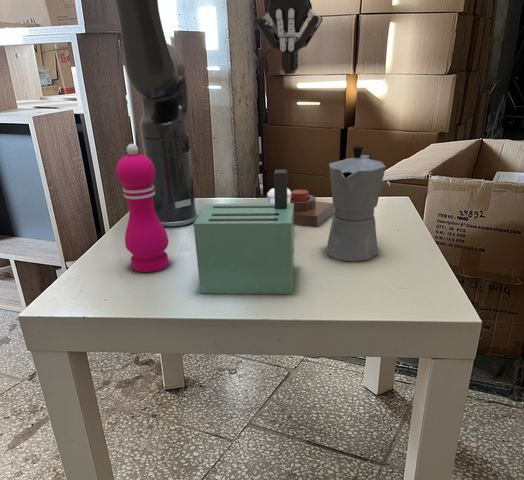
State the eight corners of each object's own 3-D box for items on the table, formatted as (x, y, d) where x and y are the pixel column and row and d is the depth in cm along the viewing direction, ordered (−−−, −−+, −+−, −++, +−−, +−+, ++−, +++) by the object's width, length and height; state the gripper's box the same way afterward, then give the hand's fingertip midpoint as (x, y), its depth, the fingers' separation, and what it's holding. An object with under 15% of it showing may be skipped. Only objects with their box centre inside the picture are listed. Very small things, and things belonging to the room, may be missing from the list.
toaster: (200, 293, 80) (193, 223, 74) (211, 268, 88) (205, 203, 82) (291, 294, 78) (291, 222, 73) (294, 268, 87) (293, 202, 81)
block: (264, 220, 110) (263, 201, 108) (284, 207, 117) (284, 189, 115) (317, 227, 105) (317, 207, 103) (334, 213, 113) (335, 194, 111)
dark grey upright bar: (274, 208, 79) (273, 173, 76) (275, 203, 81) (275, 169, 78) (286, 208, 78) (286, 172, 76) (287, 203, 81) (287, 169, 78)
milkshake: (292, 230, 104) (292, 179, 99) (290, 239, 99) (290, 186, 94) (269, 230, 104) (268, 179, 99) (267, 239, 100) (265, 186, 95)
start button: (288, 201, 109) (288, 193, 108) (295, 197, 112) (295, 188, 111) (304, 203, 107) (304, 194, 106) (311, 198, 110) (311, 190, 109)
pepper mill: (136, 277, 86) (113, 150, 76) (124, 263, 92) (102, 143, 81) (177, 268, 89) (161, 144, 78) (164, 255, 94) (147, 138, 84)
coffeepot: (369, 269, 85) (378, 154, 76) (314, 262, 89) (316, 152, 79) (388, 239, 97) (398, 137, 88) (339, 234, 101) (344, 135, 91)
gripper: (331, -38, 93) (328, 72, 102) (265, -31, 98) (268, 72, 107) (315, -41, 87) (313, 75, 96) (246, -34, 93) (251, 75, 102)
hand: (289, 73), depth 102 cm, fingers closed
